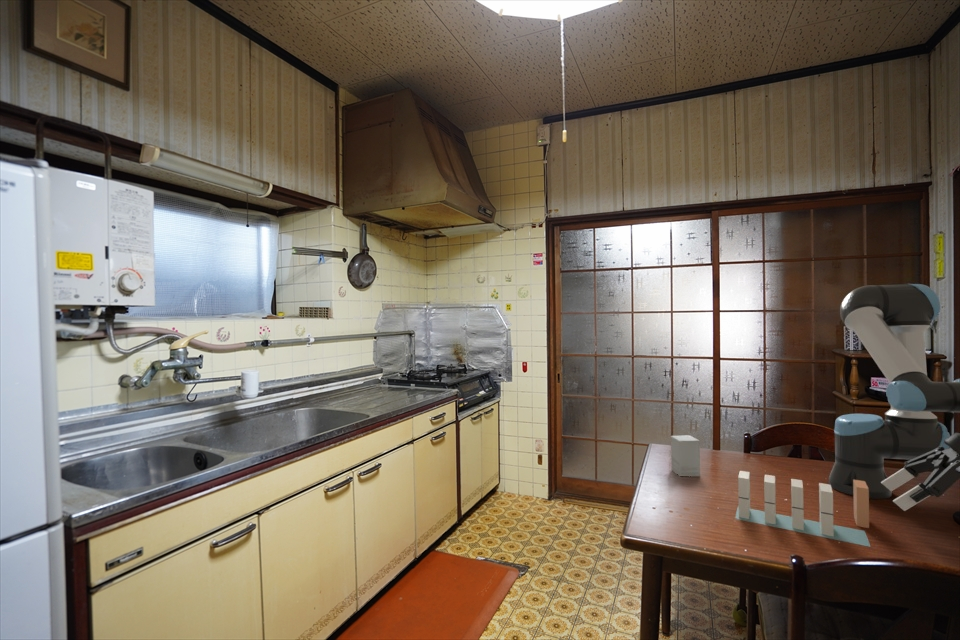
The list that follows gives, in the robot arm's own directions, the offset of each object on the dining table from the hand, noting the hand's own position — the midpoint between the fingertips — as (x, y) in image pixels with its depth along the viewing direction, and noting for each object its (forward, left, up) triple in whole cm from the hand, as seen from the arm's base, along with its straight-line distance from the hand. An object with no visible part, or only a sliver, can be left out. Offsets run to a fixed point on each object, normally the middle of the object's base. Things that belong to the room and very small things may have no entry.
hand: (891, 495), depth 112 cm
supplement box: (+38, -39, -10) cm, 56 cm away
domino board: (+21, -1, -10) cm, 24 cm away
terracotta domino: (+5, -4, -10) cm, 11 cm away
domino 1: (+32, -6, -9) cm, 34 cm away
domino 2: (+27, -3, -9) cm, 29 cm away
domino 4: (+16, +2, -9) cm, 18 cm away
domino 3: (+21, -1, -9) cm, 23 cm away
